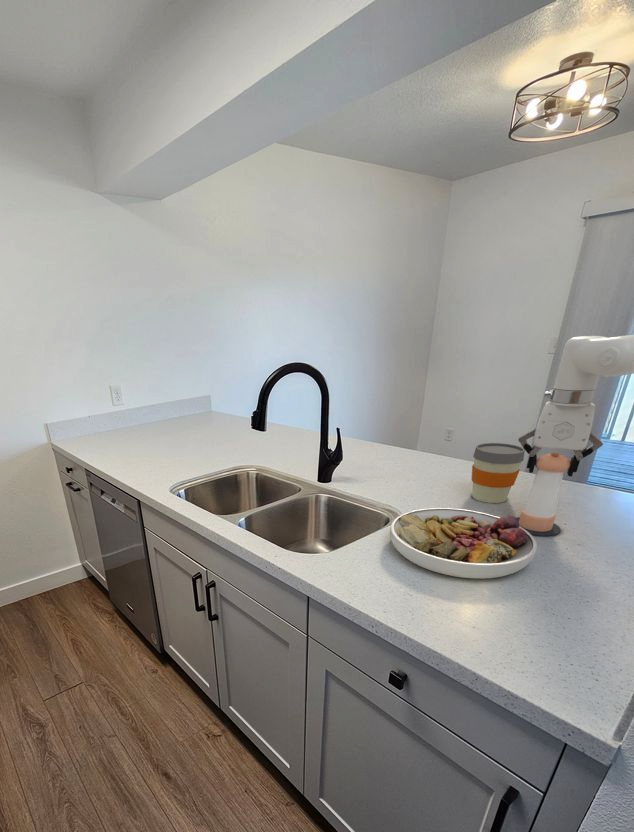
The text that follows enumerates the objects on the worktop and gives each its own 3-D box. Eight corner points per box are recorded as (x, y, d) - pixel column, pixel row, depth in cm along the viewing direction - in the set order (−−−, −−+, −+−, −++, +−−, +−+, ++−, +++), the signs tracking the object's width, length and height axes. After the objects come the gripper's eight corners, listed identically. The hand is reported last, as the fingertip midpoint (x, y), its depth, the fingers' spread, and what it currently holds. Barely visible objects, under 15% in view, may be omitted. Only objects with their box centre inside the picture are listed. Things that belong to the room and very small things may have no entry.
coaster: (558, 522, 113) (558, 520, 113) (561, 539, 105) (562, 538, 105) (509, 515, 118) (509, 514, 118) (508, 531, 110) (508, 530, 110)
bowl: (433, 594, 87) (439, 560, 84) (367, 532, 114) (370, 504, 111) (566, 575, 91) (577, 541, 87) (472, 519, 118) (478, 492, 114)
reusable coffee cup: (512, 508, 123) (525, 456, 116) (463, 501, 129) (472, 451, 122) (513, 493, 132) (526, 444, 125) (467, 488, 138) (477, 441, 131)
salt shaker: (554, 524, 111) (577, 450, 103) (548, 534, 107) (571, 458, 98) (522, 517, 116) (541, 446, 107) (514, 526, 111) (534, 453, 103)
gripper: (525, 398, 98) (507, 473, 106) (624, 401, 90) (597, 482, 98) (525, 393, 104) (508, 465, 112) (618, 395, 96) (592, 472, 104)
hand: (549, 472), depth 105 cm, fingers closed on salt shaker, 7 cm apart
